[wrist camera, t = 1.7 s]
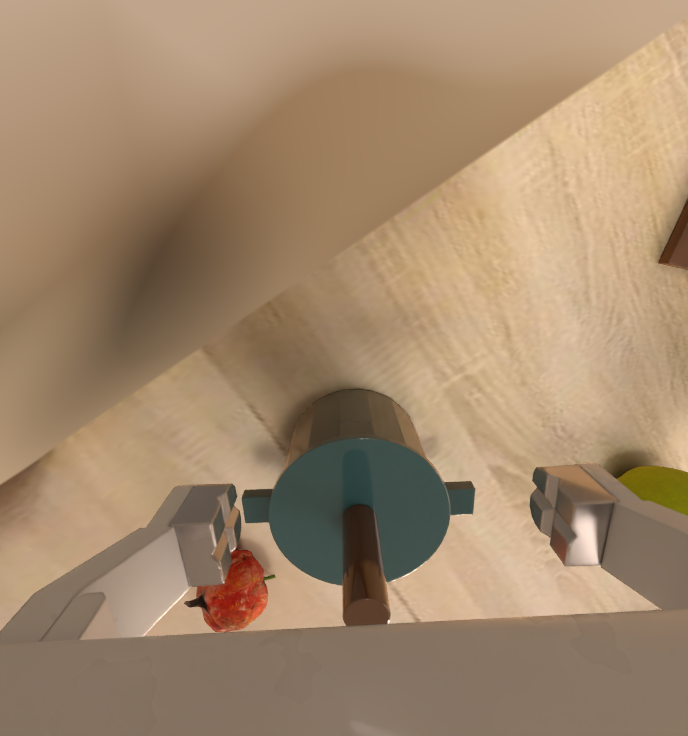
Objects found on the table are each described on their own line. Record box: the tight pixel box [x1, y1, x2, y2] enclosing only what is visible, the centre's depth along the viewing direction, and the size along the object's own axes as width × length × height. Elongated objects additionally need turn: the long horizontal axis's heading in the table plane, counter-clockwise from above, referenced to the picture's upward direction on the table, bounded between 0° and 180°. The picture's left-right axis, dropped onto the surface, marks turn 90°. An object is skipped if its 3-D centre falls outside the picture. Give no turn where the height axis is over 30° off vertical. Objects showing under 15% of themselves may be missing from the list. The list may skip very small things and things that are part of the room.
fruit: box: [617, 466, 688, 516], centre depth 34 cm, size 9×9×10 cm
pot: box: [242, 389, 475, 523], centre depth 32 cm, size 12×18×10 cm
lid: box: [268, 434, 450, 626], centre depth 24 cm, size 13×13×9 cm
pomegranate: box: [184, 550, 275, 632], centre depth 38 cm, size 7×7×10 cm
